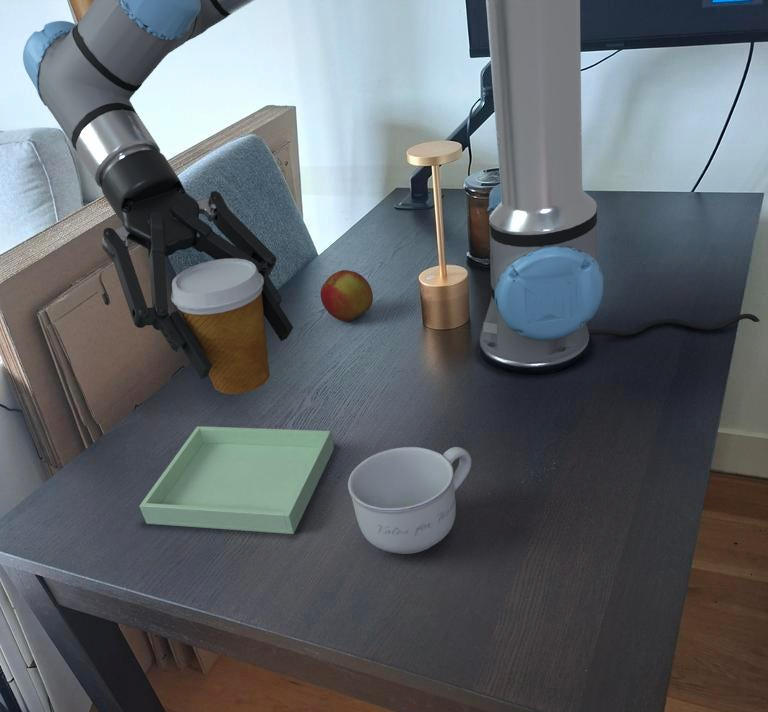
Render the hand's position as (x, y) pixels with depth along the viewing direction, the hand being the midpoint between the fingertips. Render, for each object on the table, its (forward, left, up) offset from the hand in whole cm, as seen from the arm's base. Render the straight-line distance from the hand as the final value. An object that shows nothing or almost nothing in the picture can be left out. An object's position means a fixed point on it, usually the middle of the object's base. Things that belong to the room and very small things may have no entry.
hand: (248, 352), depth 79 cm
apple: (+9, -43, -18) cm, 47 cm away
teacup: (-19, +3, -18) cm, 26 cm away
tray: (+5, +1, -18) cm, 18 cm away
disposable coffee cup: (+3, -1, -5) cm, 5 cm away
